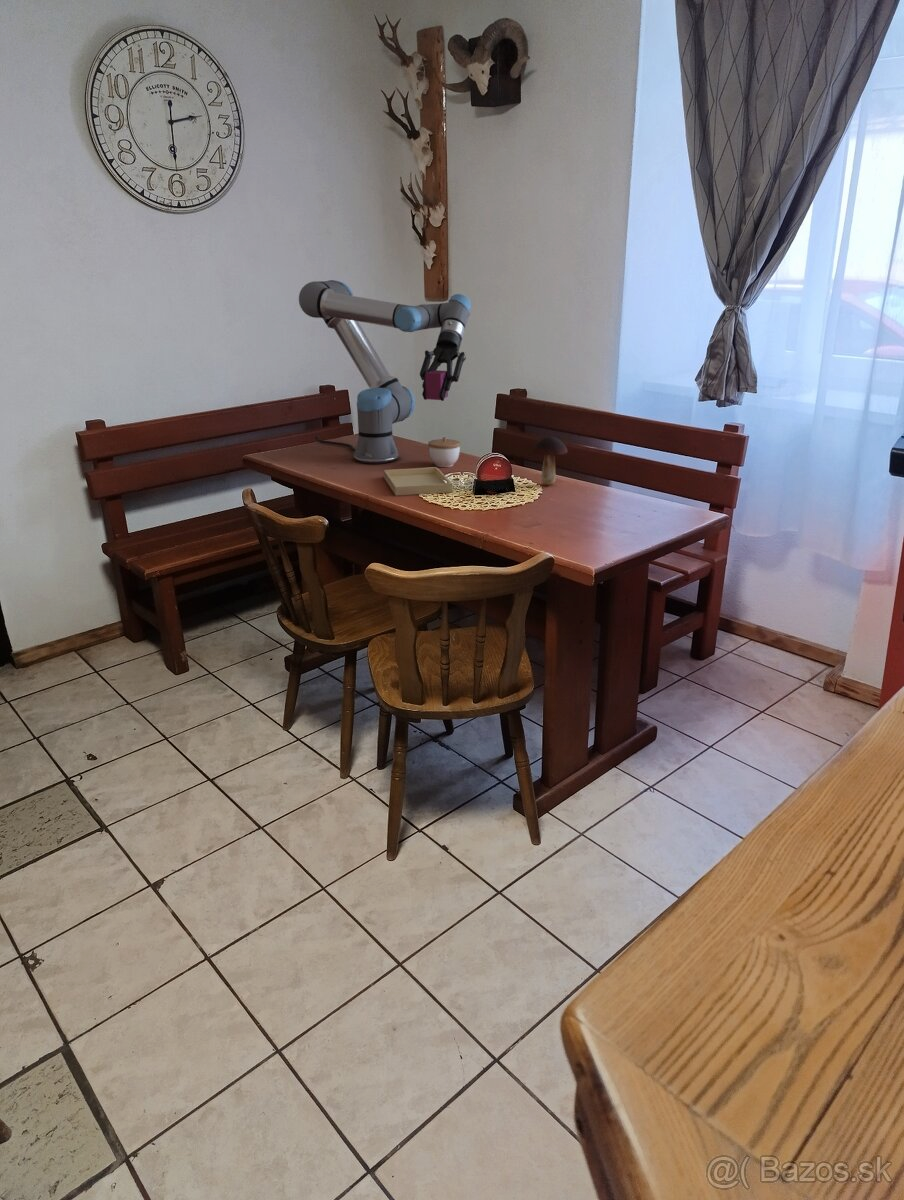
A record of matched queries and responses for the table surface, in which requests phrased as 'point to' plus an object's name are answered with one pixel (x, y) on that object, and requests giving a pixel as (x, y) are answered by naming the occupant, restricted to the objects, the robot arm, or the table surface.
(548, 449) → the decorative mushroom
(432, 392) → the mulberry block
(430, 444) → the trinket box
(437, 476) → the tray
